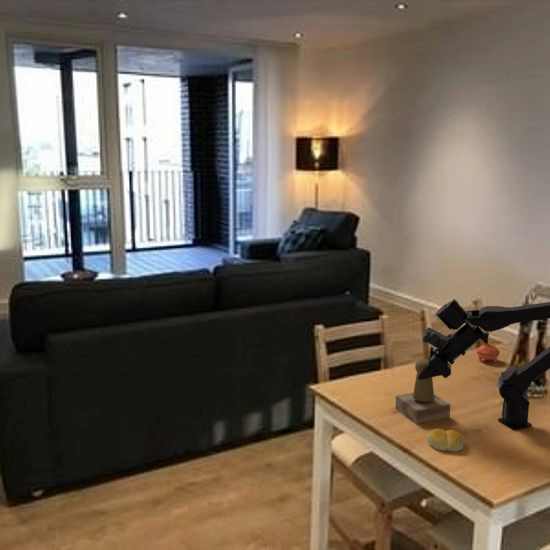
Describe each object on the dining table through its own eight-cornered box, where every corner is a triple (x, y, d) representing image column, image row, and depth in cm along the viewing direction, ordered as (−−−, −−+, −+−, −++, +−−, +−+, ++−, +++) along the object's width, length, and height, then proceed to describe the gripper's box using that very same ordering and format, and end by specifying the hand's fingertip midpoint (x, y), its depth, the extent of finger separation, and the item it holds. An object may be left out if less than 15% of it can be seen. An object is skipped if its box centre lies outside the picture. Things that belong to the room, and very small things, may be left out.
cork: (410, 393, 174) (411, 357, 172) (431, 393, 174) (432, 357, 172) (415, 401, 168) (416, 364, 166) (436, 401, 168) (438, 364, 166)
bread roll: (427, 436, 159) (428, 422, 158) (462, 440, 156) (463, 426, 156) (427, 450, 151) (427, 436, 150) (463, 455, 149) (464, 440, 148)
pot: (485, 365, 209) (483, 346, 209) (473, 363, 217) (471, 344, 217) (505, 362, 211) (503, 343, 211) (492, 360, 218) (490, 342, 219)
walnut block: (449, 417, 169) (450, 404, 168) (416, 424, 165) (417, 410, 164) (427, 402, 179) (427, 390, 178) (395, 408, 175) (395, 395, 174)
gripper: (441, 311, 174) (402, 344, 179) (439, 329, 156) (396, 365, 162) (468, 339, 173) (428, 371, 179) (469, 360, 156) (425, 395, 161)
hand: (419, 375), depth 170 cm, fingers closed on cork, 5 cm apart
